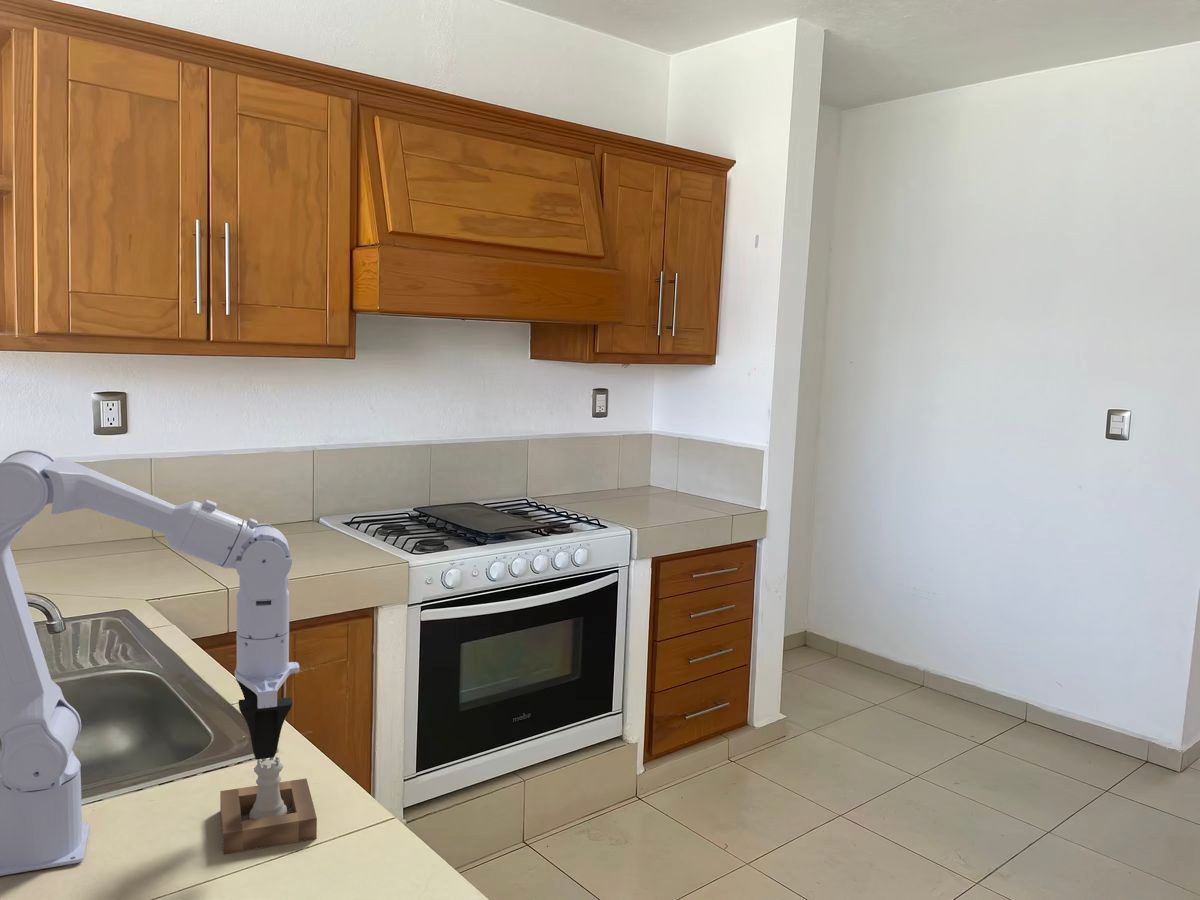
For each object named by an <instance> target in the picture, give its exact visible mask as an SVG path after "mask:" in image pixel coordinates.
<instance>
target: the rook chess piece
mask: <svg viewBox="0 0 1200 900" xmlns="http://www.w3.org/2000/svg"><path fill="white" fill-rule="evenodd" d="M283 768H284V765H283V764H282V762H281V759H280V757H279V756H275V757H273V758H265V759H258V760H257V762H256V765H255V767H254V768H253V771H254V773H255V774H256V775H257V778H256V780H255V784H257V786H258V790H257V797H256V801H255V803H254V805H253V808H252V809H251V811H250V813H249V814H248V817H249V820H253V819H259V818H265V817H272V816H278V815H284V814H288V808H287V807H286V805H284V802H283V800H282V799H281V796H280V789H279V782H281V780H282V777H281V775H280V773H281V771H282V770H283Z"/></svg>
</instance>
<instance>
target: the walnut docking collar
mask: <svg viewBox="0 0 1200 900" xmlns="http://www.w3.org/2000/svg"><path fill="white" fill-rule="evenodd" d="M308 783H309V781H308V778H299V779H294V780H287V781H280V782H279V789H280V796H281V799H282V800H283V802H284V805H286V807H287V809H290V808H291V812H292V813H287V814H284V815H278V816H272V817H265V818H259V819H253V820H250V819H247V820H242V816H247V815H249V813H250V811H251V809H252V808H253V805H254V803H255V801H256V797H257V790H258V785H252V786H246V787H239V788H238V787H237V788H233V789H225V790H220V791H219V792H220V795H219V797H220V805H219V806H220V810H219V811H220V820H221V821H220V823H221V826H220V827H221V838H222V839H221V840H222V851H223V852H222V853H223V855H227V854H235V853H240V852H245V851H251V850H257V849H263V848H269V847H274V846H279V845H280V846H281V845H286V844H291V843H297V842H303V841H309V840H314V839H317V836H318V835H317V832H318V828H317V827H318V822H317V821H318V819H317V818H318V817H317V813H316V809H315V806H314V802H313V797H312V795H311V790H310V787H309V784H308Z"/></svg>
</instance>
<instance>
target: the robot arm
mask: <svg viewBox="0 0 1200 900" xmlns="http://www.w3.org/2000/svg"><path fill="white" fill-rule="evenodd" d="M48 504H49V505H52V506H51V512H50V513H51V515H59V514H64V513H69V512H73V511H78V510H83V509H88V510H91V511H95V512H97V513H101V514H104V515H107V516H110V517H114V518H117V519H120V520H123V521H126V522H128V523H131V524H135V525H138V526H141V527H144V528H147V529H150V530H153V531H157V532H159V533H162V534H163V535H164V537H165V538H166V542H167V543H168V546H169V547H170V549H173V550H175V551H178V552H181V553H183V554H185V555H188V556H191V557H194V558H197V559H199V560H203V561H204V562H208V563H210V564H214V565H216V566H218V567H221V568H223V569H235V570H236V573H237V575H238V576H239V590H238V592H237V594H236V667H235V669H234V677H235V681H236V682H237V684H238V685H239V687H240V690H241V692H242V696H243V699H238V708H239V712H240V714H241V716H242V717H243V719H244V720H245V722H246V725H247V727H248V731H249V735H250V740H251V746H252V747H251V748H252V752H253V756H254V758H255V760H257V761H258V759H261V760H262V759H265V758H266V759H270V758H273V757H274V758H275V757H276V754H277V751H278V750H277V749H278V746H279V741H280V737H281V731H282V729H283V725H284V722H285V719H286V717H287V716H288V714H289V712H290V711H291V709H292V706H293V699H292V696H290V697H289V696H288V697H283V698H282V697H281V698H278V691H279V689H280V688H281V687H282V686H283V685H284V683H285V682H286V680H287V678H288V677H289V676H290V675H291V674H297V673H300V664H299V662H296V661H289V660H290V655H289V653H290V652H289V651H290V591H289V590H288V587H289V581H290V580H289V572H290V570H291V568H292V563H293V560H292V559H291V553H290V548H289V547H290V546H289V543H288V540H287V538H286V536H285V535H284V534H283V533H282V532H281V530H279V529H278V528H275V527H273V525H272V524H270V523H258V520H256V519H253V518H251V517H250V518H248V521H247V520H245V519H242V518H241V517H237V516H235V515H232V514H229V513H228V512H225V511H221V509H217V507H218V506H217V505H218V503H217V502H215V501H212V500H210V499H205V500H204V502H203V503H202V502H199V501H196V500H189V501H188V502H185V503H182V504H178V505H175V504H173V503H171V502H168V501H166V500H163V499H162V498H159V497H157V496H155V495H152V494H150V493H147V492H146V491H143V490H140V489H138V488H135V487H134V486H131V485H129V484H127V483H124V482H122V481H119V480H118V479H115V478H113V477H111V476H109V475H106V474H103V473H101V472H98V471H97V470H94V469H91V468H90V467H87V466H85V465H82V464H80V463H78V462H75V461H73V460H70V459H66V458H62V457H57V458H56V459H55V458H53V457H52V456H51V455H49V454H47V453H46V452H43V451H40V450H35V449H26V450H25V449H24V450H20V451H16V452H14V453H12V454H10V455H8V456H6V457H5V458H4V459H3V460H2V461H1V462H0V742H1V751H0V775H1V777H0V877H1V876H7V875H12V874H19V873H26V872H30V871H37V870H43V869H48V868H49V869H50V868H55V867H61V866H68V865H72V864H74V865H75V864H79V863H81V862H83V861H84V858H85V852H86V847H87V846H86V845H87V843H88V842H87V840H88V836H89V831H90V823H89V822H83V816H82V815H83V814H82V812H83V810H82V777H81V775H82V773H81V769H82V768H81V767H82V766H81V761H80V760H79V759H78V758H77V755H75V753H74V751H73V747H74V745H75V743H76V741H77V740H78V738H79V736H80V734H81V730H82V721H81V717H80V715H79V713H78V711H77V710H76V709H75V708H74V707H73V706H71V705H70V704H69V702H67V700H66V699H65V697H64V695H63V692H62V688H61V687H60V685H59V684H57V683H56V682H54V681H53V679H52V676H51V674H50V670H49V667H48V664H47V661H46V658H45V654H44V652H43V648H42V646H41V641H40V638H39V636H38V632H37V629H36V626H35V623H34V620H33V616H32V613H31V610H30V606H29V604H28V600H27V598H26V594H25V590H24V588H23V585H22V581H21V578H20V575H19V572H18V568H17V566H16V562H15V559H14V556H13V553H12V550H11V544H12V543H13V542H14V541H15V539H16V538H17V536H18V535H19V533H20V532H21V531H22V529H23V528H24V527H25V526H26V525H27V523H29V522H31V520H33V519H34V518H35V517H37V516H39V514H40V513H41V512H42V511H43V510H44V508H45V506H47V505H48Z"/></svg>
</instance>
